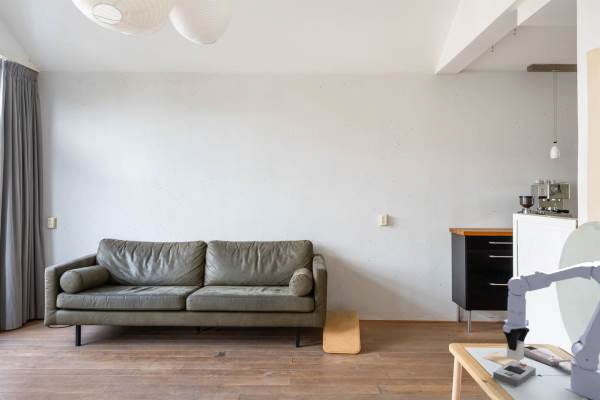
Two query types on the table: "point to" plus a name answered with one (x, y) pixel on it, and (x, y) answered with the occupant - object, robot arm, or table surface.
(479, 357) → the table surface
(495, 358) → the cork coaster
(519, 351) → the white rectangular block
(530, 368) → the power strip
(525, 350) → the mobile phone
